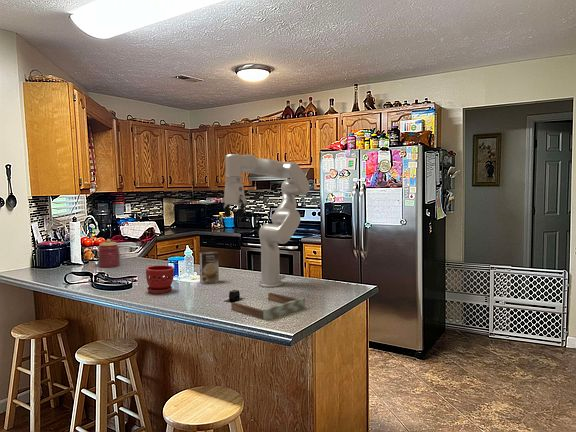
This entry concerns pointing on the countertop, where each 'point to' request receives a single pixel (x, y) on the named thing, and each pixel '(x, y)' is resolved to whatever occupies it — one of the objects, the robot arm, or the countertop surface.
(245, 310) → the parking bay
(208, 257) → the coffee box
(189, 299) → the countertop surface
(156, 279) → the plant pot
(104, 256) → the canister
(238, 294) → the black piece
